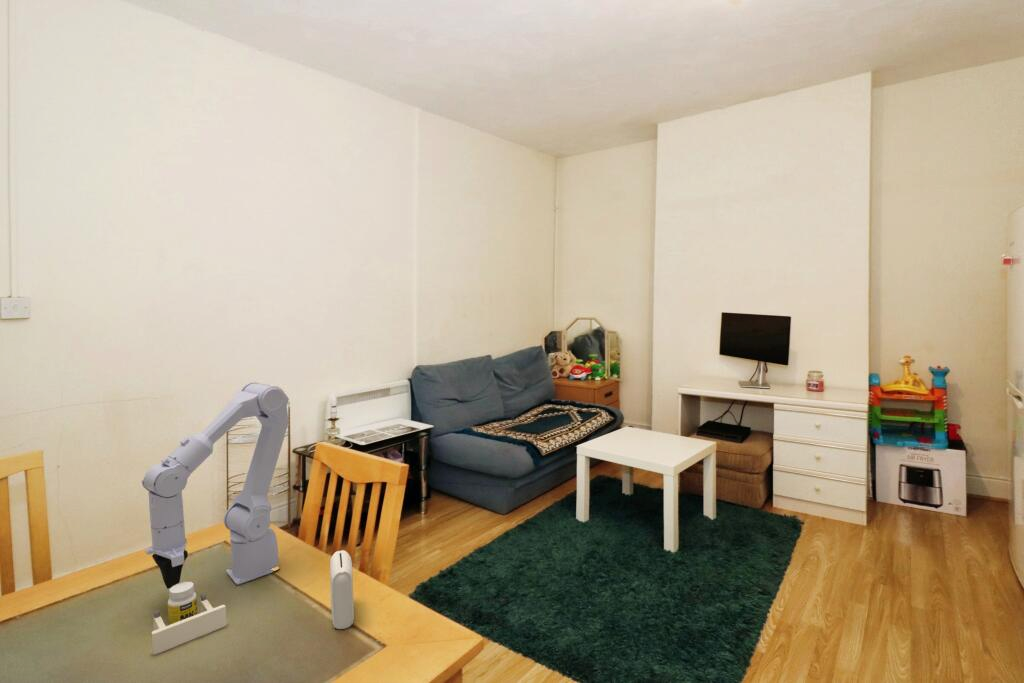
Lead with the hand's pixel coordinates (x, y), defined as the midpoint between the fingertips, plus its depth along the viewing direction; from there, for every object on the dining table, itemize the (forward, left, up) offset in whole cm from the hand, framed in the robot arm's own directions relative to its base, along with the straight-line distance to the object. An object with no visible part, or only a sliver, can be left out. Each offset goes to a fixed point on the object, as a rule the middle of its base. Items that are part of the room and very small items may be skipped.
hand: (172, 585), depth 110 cm
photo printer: (-24, +27, -5) cm, 36 cm away
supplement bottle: (0, +9, -5) cm, 11 cm away
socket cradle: (0, +10, -5) cm, 11 cm away
